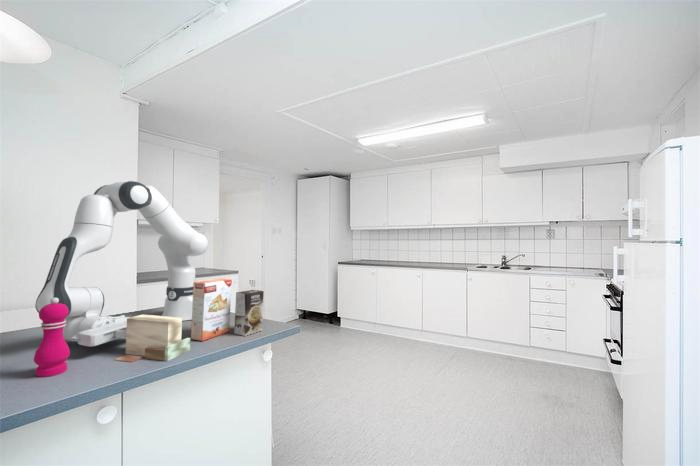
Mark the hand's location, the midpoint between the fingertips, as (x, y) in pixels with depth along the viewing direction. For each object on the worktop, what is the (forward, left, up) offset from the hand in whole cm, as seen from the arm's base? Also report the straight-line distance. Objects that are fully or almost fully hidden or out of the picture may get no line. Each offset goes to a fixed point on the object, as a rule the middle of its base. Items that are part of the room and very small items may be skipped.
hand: (134, 333), depth 108 cm
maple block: (0, +8, -5) cm, 9 cm away
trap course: (0, +6, -5) cm, 8 cm away
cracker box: (-21, +14, -6) cm, 26 cm away
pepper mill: (+20, -6, -6) cm, 22 cm away
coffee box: (-29, +25, -6) cm, 39 cm away
